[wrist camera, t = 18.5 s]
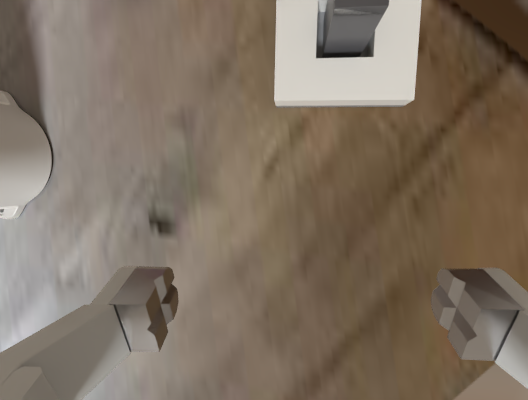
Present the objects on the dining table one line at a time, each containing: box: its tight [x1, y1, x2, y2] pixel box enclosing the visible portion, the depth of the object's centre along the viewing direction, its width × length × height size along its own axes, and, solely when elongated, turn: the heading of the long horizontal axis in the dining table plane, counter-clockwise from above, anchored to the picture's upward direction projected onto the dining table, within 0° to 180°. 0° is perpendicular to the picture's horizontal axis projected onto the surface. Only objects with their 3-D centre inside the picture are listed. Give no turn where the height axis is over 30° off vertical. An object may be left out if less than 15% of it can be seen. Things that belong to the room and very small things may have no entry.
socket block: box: [274, 0, 421, 107], centre depth 33 cm, size 16×16×4 cm
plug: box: [322, 0, 389, 58], centre depth 29 cm, size 4×4×11 cm
